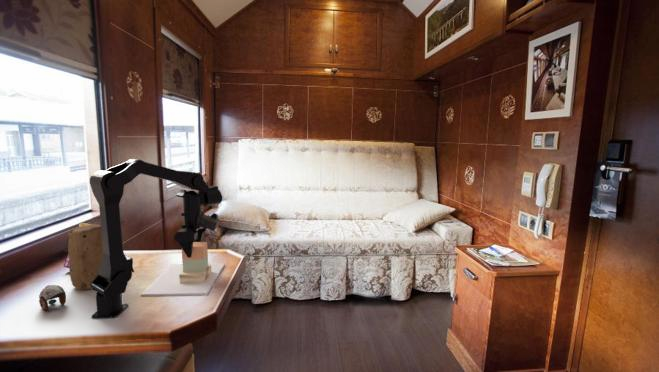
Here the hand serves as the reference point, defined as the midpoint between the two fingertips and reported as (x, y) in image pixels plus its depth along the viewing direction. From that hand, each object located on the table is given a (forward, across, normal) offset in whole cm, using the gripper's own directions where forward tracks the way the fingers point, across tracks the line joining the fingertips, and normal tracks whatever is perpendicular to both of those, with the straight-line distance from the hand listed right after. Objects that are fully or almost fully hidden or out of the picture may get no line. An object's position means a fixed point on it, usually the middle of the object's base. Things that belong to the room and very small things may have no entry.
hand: (194, 252), depth 111 cm
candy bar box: (+9, +6, +42) cm, 43 cm away
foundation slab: (+9, 0, 0) cm, 9 cm away
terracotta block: (+2, 0, 0) cm, 2 cm away
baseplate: (+10, 0, +3) cm, 10 cm away
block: (+10, -3, +32) cm, 33 cm away
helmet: (+10, -18, +34) cm, 39 cm away
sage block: (+6, 0, 0) cm, 6 cm away
